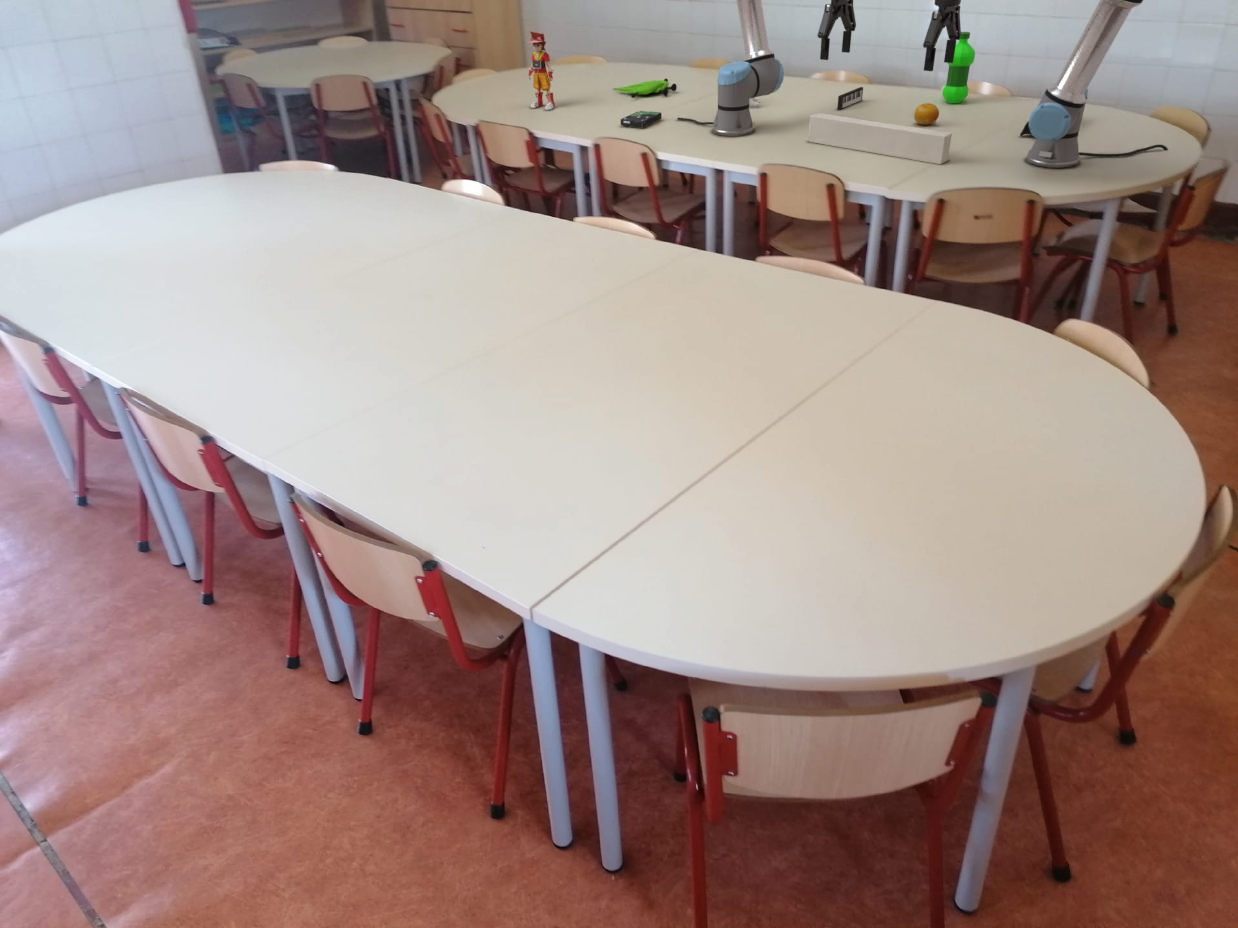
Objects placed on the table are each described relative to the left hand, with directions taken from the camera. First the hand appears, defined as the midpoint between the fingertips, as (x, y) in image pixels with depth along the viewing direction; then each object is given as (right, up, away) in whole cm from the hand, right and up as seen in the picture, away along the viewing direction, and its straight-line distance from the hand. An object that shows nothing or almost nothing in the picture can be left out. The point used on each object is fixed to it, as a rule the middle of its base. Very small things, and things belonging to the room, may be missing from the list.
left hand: (835, 56), depth 302 cm
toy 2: (-63, +27, +95) cm, 118 cm away
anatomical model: (-21, +11, +68) cm, 72 cm away
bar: (+15, -30, +6) cm, 34 cm away
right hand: (+27, -13, -21) cm, 37 cm away
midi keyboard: (+20, +7, +58) cm, 62 cm away
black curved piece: (+81, -18, +16) cm, 84 cm away
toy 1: (-106, +15, +81) cm, 134 cm away
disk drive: (-64, -3, +52) cm, 82 cm away
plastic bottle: (+60, +6, +53) cm, 80 cm away
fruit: (+40, -12, +29) cm, 51 cm away
